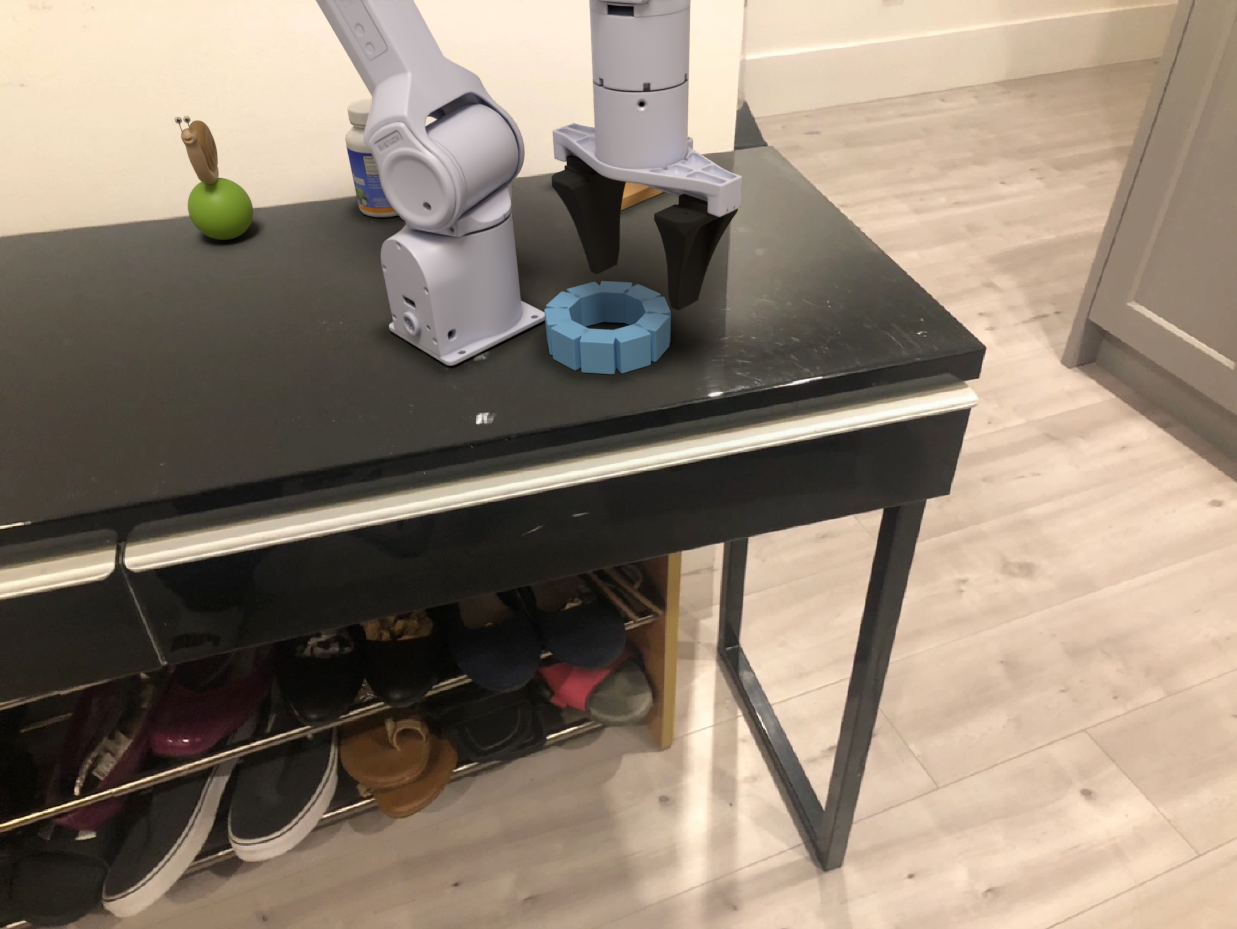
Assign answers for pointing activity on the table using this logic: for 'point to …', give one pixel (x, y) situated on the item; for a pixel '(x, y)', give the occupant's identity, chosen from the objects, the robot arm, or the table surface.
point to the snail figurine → (213, 188)
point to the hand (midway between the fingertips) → (643, 285)
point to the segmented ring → (607, 346)
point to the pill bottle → (365, 164)
